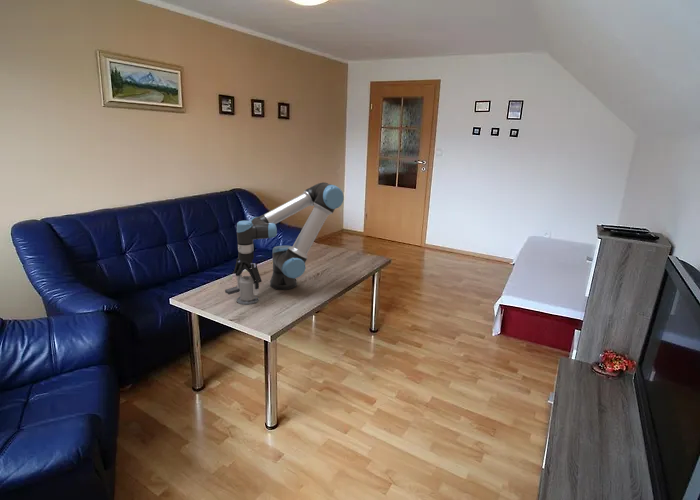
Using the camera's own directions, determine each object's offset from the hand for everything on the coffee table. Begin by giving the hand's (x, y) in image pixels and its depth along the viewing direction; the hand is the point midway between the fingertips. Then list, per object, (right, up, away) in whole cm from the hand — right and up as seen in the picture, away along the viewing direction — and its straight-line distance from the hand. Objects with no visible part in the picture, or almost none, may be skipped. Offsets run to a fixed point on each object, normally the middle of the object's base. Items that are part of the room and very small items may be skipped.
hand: (248, 290), depth 207 cm
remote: (-9, -1, +14) cm, 16 cm away
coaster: (-1, -5, +1) cm, 5 cm away
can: (-1, -5, +1) cm, 5 cm away
